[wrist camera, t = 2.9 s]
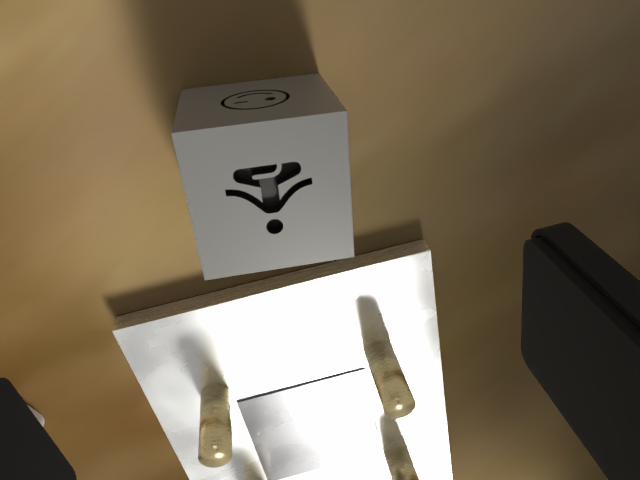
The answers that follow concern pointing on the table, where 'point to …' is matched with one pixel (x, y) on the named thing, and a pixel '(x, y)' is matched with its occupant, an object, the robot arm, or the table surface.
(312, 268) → the chassis plate
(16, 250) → the table surface
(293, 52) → the table surface
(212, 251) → the dice cube
